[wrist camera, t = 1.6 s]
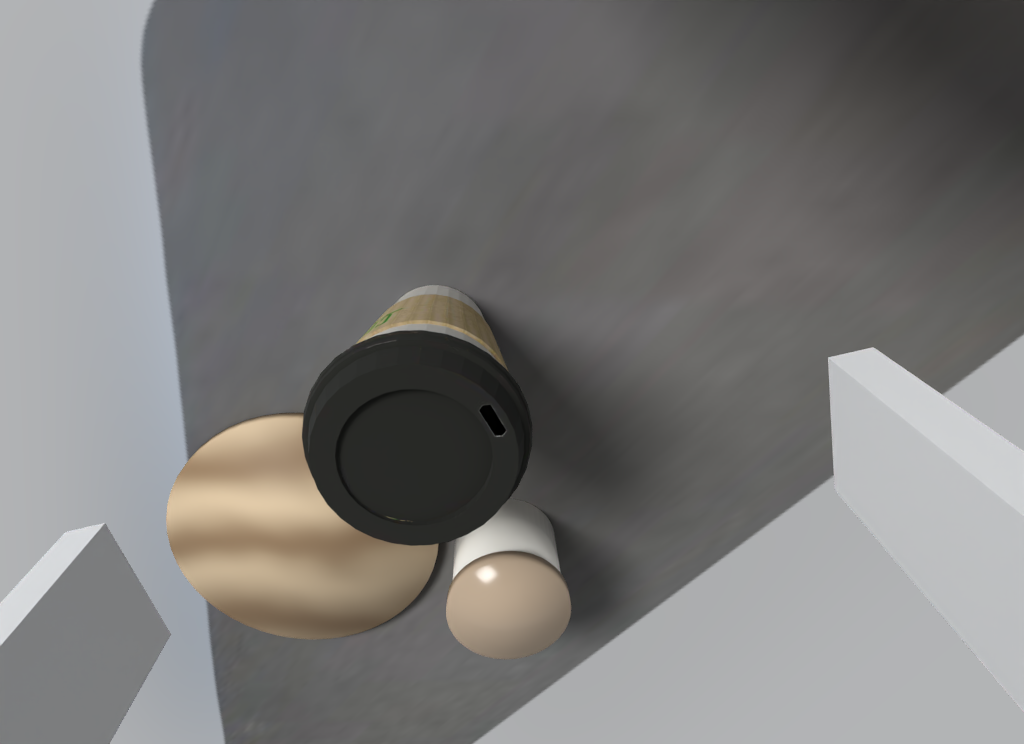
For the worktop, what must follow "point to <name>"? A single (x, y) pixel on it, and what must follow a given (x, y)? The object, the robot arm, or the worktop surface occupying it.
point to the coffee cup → (418, 423)
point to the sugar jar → (508, 585)
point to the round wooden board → (282, 540)
